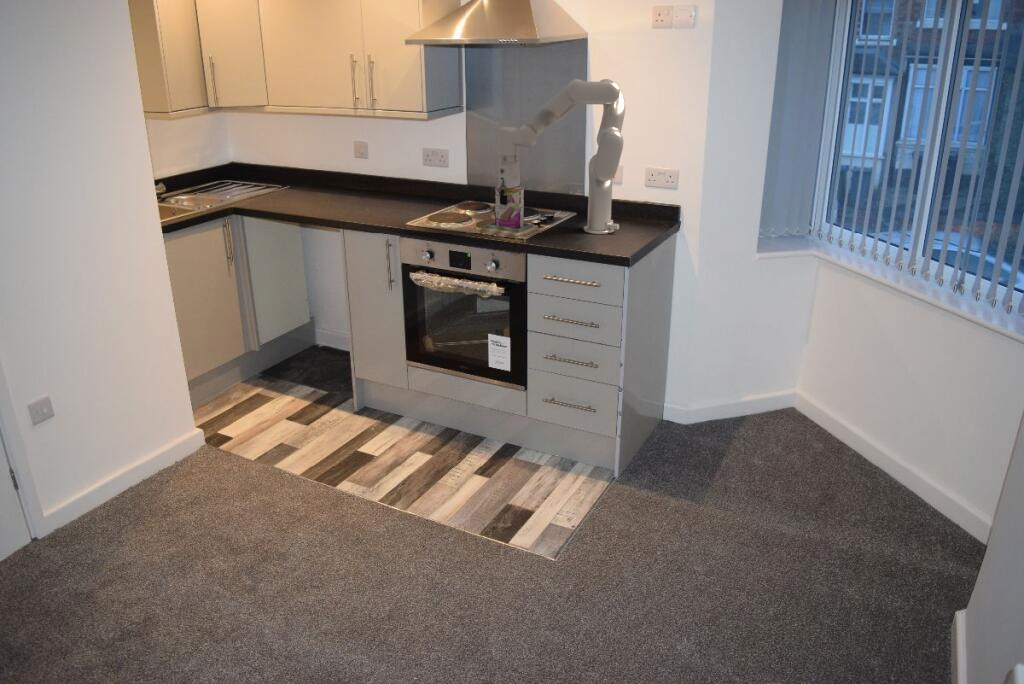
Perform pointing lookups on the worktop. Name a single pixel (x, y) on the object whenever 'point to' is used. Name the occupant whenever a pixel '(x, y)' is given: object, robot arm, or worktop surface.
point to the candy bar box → (510, 209)
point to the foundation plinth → (508, 230)
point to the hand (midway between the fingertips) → (508, 202)
